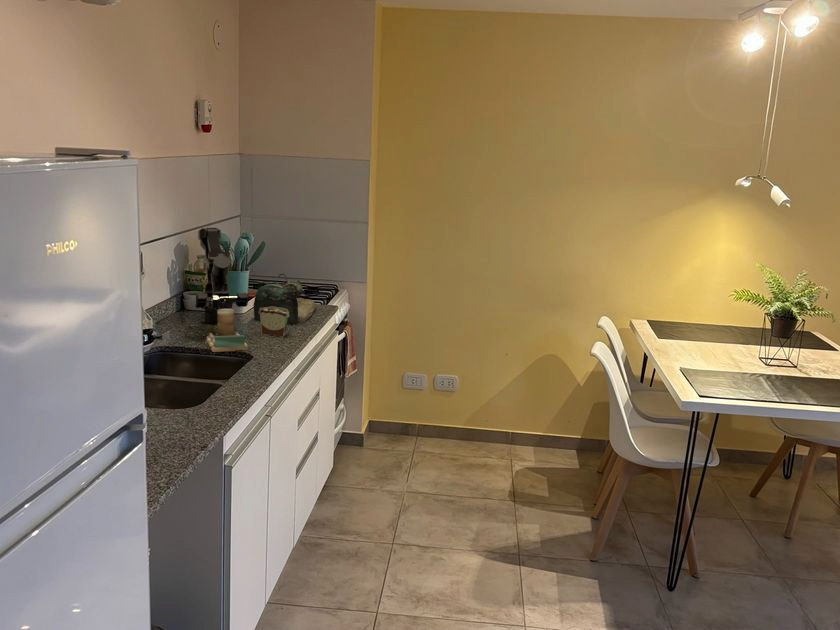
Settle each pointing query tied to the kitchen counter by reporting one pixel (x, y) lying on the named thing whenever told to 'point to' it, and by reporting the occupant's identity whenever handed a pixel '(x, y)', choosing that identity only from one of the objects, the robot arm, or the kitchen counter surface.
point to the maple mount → (227, 342)
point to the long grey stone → (305, 309)
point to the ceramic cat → (279, 298)
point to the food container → (273, 321)
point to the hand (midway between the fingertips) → (224, 319)
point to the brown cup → (225, 322)
